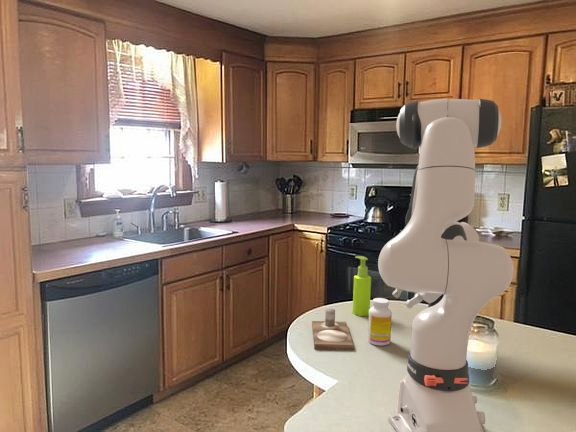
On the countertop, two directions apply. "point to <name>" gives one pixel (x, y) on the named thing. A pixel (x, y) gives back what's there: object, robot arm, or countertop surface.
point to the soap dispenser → (361, 289)
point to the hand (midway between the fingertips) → (400, 301)
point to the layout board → (331, 333)
